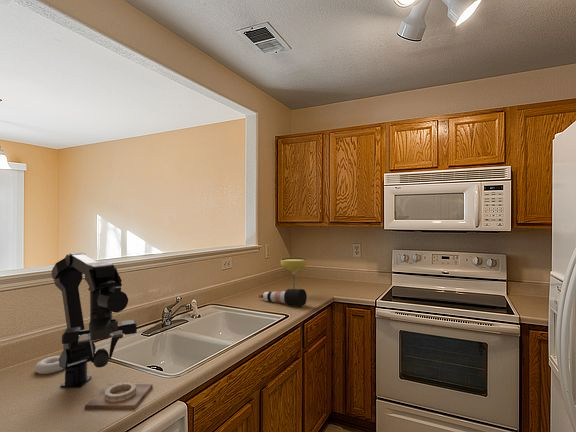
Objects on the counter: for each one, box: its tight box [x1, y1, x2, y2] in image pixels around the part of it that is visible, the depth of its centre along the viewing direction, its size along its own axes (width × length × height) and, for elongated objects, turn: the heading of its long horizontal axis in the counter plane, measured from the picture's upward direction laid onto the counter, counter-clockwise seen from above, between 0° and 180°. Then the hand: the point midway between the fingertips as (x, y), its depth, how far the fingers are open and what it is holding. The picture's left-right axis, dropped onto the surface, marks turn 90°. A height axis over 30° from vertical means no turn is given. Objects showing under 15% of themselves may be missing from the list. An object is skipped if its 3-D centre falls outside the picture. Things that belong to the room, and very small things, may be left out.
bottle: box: [258, 288, 308, 307], centre depth 210 cm, size 10×34×10 cm, turn 55°
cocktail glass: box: [280, 257, 308, 289], centre depth 232 cm, size 18×18×25 cm
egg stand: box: [84, 381, 153, 410], centre depth 99 cm, size 12×14×2 cm
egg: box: [93, 347, 110, 369], centre depth 97 cm, size 4×4×5 cm
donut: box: [34, 355, 64, 375], centre depth 118 cm, size 10×4×10 cm
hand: (101, 360), depth 97 cm, fingers closed on egg, 4 cm apart
